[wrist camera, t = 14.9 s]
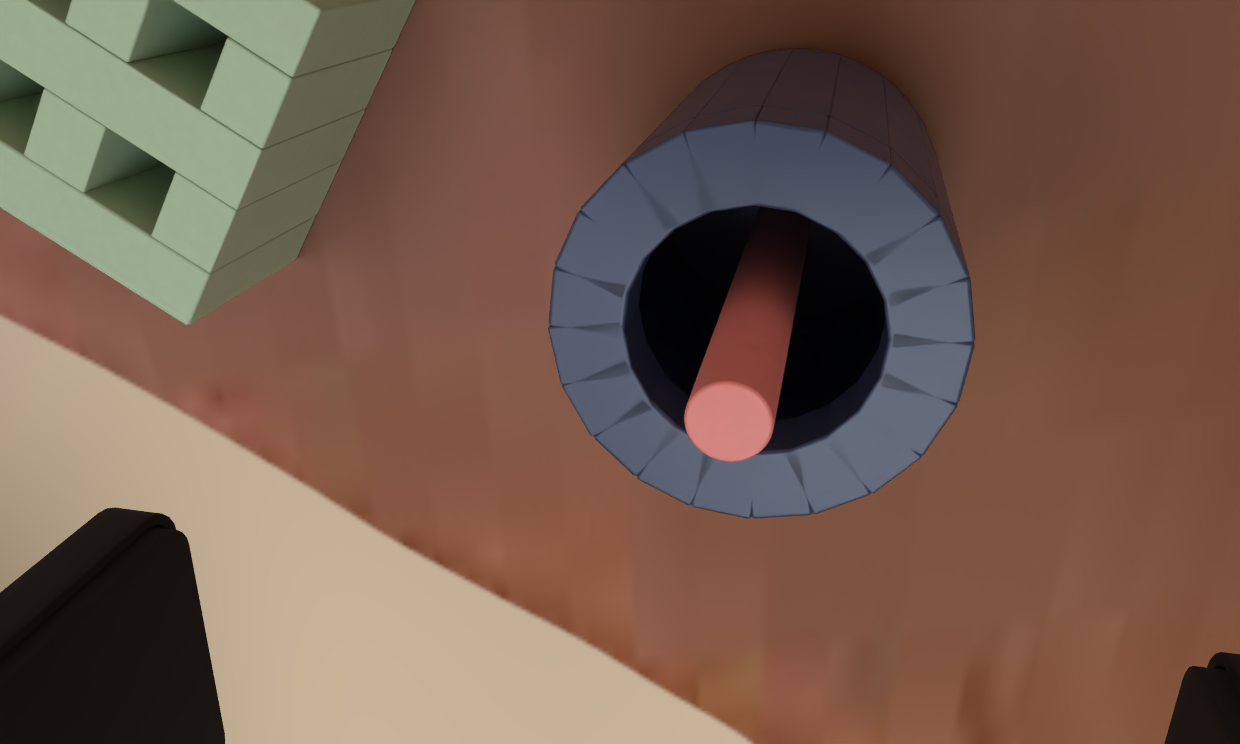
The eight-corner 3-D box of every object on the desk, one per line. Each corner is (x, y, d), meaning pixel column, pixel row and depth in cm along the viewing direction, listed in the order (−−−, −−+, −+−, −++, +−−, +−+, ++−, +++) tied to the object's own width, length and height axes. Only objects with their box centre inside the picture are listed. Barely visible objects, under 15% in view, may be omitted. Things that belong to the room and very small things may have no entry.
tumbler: (863, -8, 27) (860, 38, 17) (983, 257, 29) (1042, 434, 19) (603, 132, 30) (474, 240, 20) (729, 365, 32) (668, 568, 22)
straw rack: (9, -276, 29) (-186, -319, 24) (420, -9, 30) (320, 9, 24) (-66, 30, 33) (-247, 53, 28) (296, 261, 34) (187, 327, 28)
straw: (801, 168, 29) (748, 368, 16) (823, 213, 29) (789, 444, 17) (753, 191, 29) (668, 401, 17) (776, 235, 30) (708, 475, 17)
